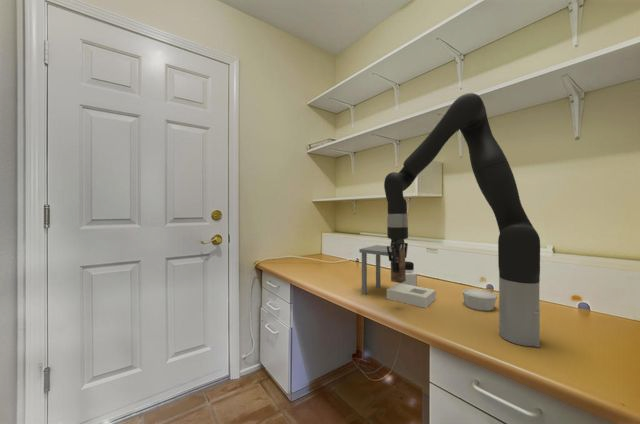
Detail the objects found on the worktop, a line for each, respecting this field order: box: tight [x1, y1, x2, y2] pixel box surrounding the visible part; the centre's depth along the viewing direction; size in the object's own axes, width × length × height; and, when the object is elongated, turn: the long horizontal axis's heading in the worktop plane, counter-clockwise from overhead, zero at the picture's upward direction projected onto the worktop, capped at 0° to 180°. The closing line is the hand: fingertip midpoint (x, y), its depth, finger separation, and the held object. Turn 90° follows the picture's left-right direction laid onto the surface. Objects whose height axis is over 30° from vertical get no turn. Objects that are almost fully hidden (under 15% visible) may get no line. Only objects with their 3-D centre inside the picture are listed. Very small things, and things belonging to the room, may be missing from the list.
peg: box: [390, 249, 406, 284], centre depth 96 cm, size 4×4×12 cm
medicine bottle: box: [402, 260, 418, 287], centre depth 124 cm, size 7×7×12 cm
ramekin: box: [461, 288, 498, 312], centre depth 98 cm, size 11×11×5 cm
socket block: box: [386, 283, 437, 309], centre depth 106 cm, size 16×12×4 cm
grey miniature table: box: [358, 244, 388, 296], centre depth 115 cm, size 14×16×20 cm
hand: (398, 271), depth 96 cm, fingers closed on peg, 4 cm apart
